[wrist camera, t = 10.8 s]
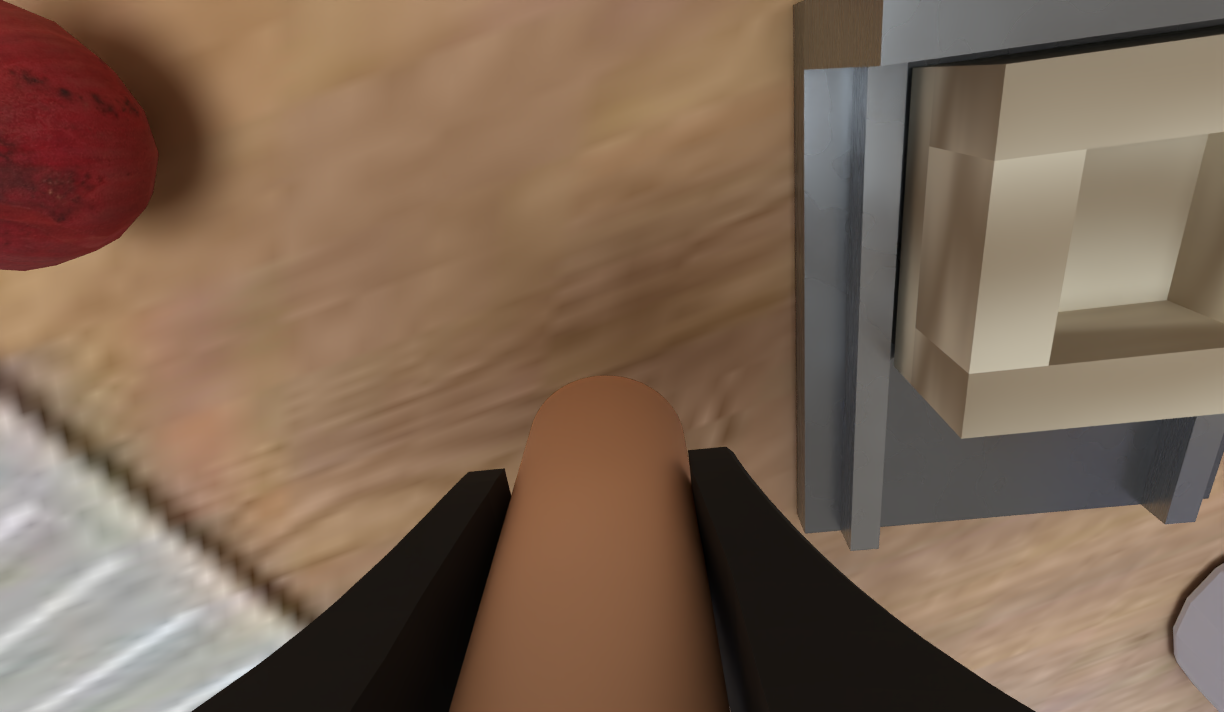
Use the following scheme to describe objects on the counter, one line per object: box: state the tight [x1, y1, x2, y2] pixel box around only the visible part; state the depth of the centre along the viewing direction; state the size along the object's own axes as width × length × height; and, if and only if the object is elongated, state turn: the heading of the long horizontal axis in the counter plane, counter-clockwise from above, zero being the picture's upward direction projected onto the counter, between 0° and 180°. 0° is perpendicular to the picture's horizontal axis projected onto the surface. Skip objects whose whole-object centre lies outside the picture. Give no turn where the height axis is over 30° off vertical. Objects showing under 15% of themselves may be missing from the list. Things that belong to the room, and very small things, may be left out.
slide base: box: [793, 0, 1224, 551], centre depth 16 cm, size 16×13×6 cm
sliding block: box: [894, 24, 1224, 439], centre depth 14 cm, size 8×8×4 cm
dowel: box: [449, 376, 730, 712], centre depth 9 cm, size 3×3×7 cm
